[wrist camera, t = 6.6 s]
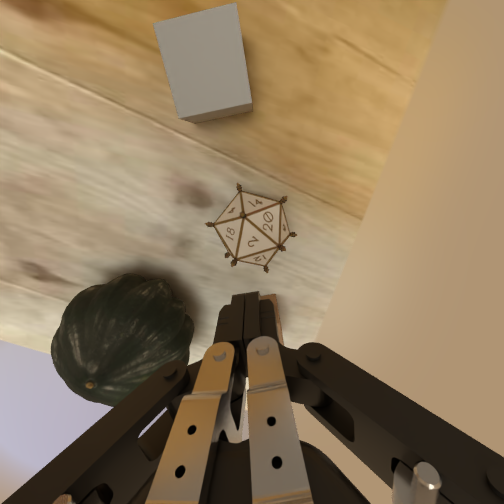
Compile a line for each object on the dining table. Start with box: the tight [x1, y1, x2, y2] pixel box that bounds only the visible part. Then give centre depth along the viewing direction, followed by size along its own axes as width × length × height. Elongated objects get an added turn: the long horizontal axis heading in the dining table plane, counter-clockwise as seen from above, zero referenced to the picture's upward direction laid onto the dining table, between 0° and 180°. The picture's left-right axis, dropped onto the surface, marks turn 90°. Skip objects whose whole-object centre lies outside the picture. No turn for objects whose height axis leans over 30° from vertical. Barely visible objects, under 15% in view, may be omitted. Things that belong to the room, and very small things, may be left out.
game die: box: [205, 183, 297, 273], centre depth 25 cm, size 9×8×10 cm
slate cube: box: [153, 2, 253, 123], centre depth 21 cm, size 6×6×6 cm
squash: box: [51, 274, 194, 407], centre depth 29 cm, size 14×15×15 cm
